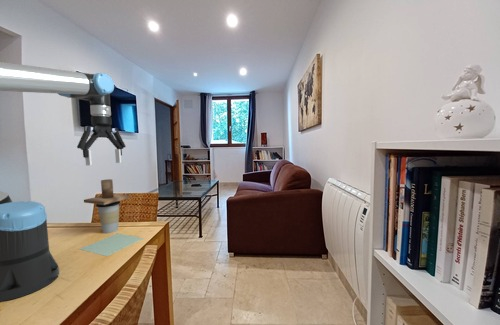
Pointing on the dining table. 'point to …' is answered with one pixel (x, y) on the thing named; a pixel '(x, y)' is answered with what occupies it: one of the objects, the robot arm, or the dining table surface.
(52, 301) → the dining table surface
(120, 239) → the rubber mat
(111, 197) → the walnut cover
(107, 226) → the coffee cup
